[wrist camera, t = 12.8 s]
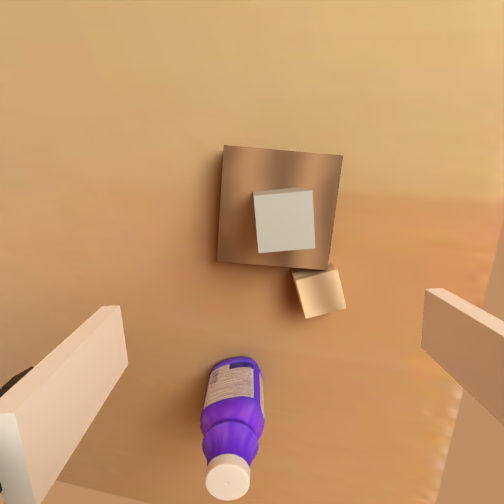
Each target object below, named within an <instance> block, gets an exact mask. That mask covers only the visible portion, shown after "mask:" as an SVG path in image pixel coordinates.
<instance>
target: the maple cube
mask: <svg viewBox="0 0 504 504" xmlns="http://www.w3.org/2000/svg"><path fill="white" fill-rule="evenodd" d="M291 273H292V276H293V280H294V284H295V288H296V291H297V295H298V299H299V302H300V305H301V308H302V310H303V313H304V315H305V318H306V319H307V318H311V317H315V316H318V315H322V314H326V313H330V312H333V311H337V310H341V309H345V308H346V304H345V300H344V295H343V291H342V287H341V283H340V278H339V274H338V270H337V268H336V267H335V266H334V265H333V264H332V263H331V262H330V261H328V268H327V270H319V269H306V268H293V269H291Z"/></svg>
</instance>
